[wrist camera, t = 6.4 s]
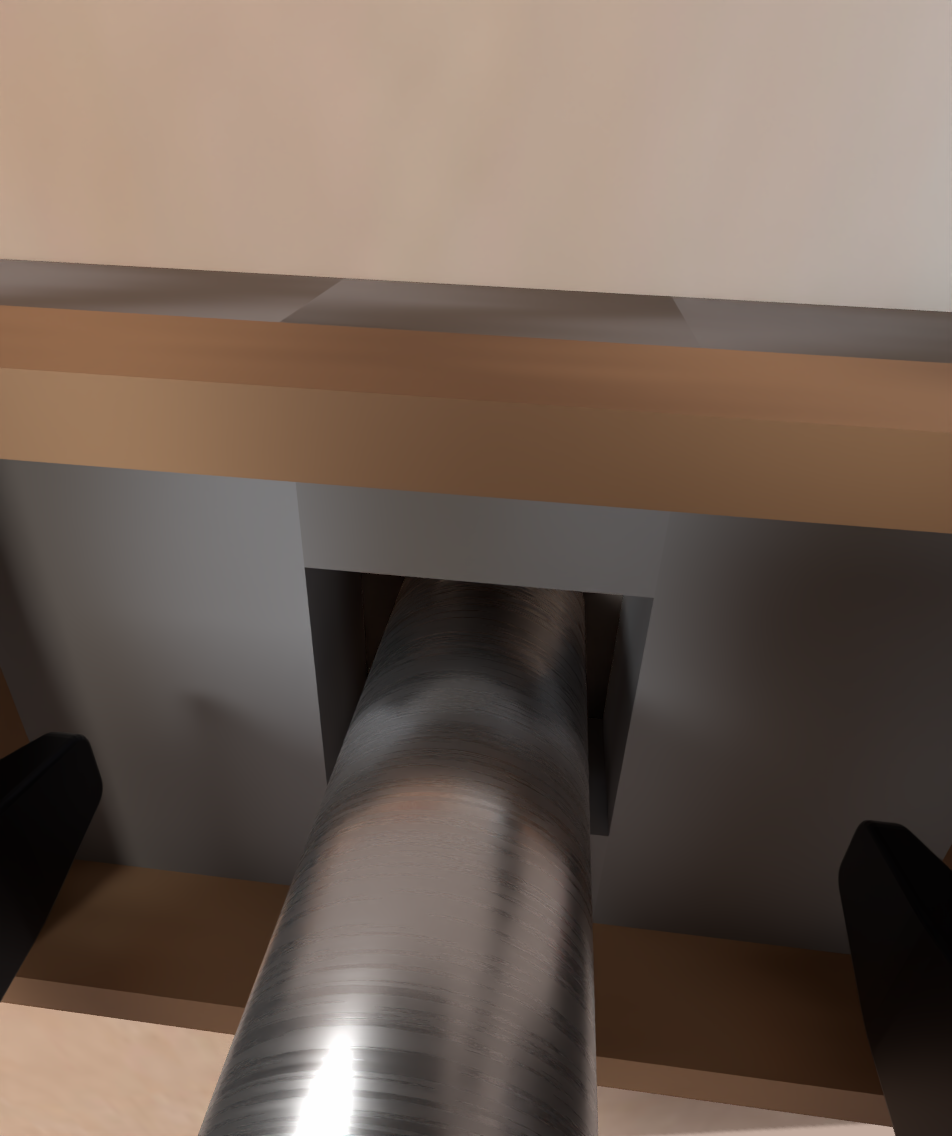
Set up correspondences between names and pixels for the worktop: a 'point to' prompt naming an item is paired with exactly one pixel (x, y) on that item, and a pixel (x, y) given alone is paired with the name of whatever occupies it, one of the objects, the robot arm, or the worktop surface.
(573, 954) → the peg
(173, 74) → the worktop surface
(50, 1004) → the box
